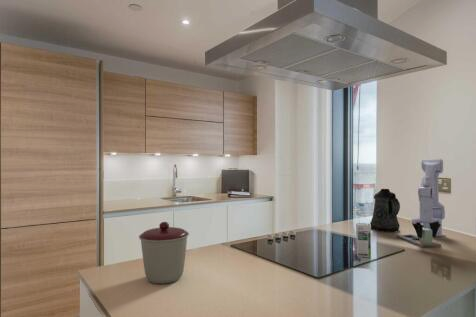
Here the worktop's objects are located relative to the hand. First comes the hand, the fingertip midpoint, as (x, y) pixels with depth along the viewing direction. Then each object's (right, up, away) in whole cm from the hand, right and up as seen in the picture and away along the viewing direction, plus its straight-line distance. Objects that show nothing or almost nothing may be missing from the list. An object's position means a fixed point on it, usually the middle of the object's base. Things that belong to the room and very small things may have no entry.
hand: (426, 237), depth 160 cm
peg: (0, -4, 0) cm, 4 cm away
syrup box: (-38, -4, -16) cm, 42 cm away
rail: (-1, -4, +6) cm, 8 cm away
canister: (-123, -5, -42) cm, 130 cm away
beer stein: (-4, -4, +35) cm, 35 cm away
